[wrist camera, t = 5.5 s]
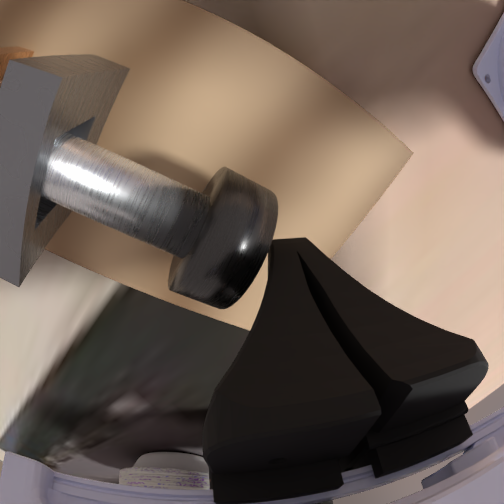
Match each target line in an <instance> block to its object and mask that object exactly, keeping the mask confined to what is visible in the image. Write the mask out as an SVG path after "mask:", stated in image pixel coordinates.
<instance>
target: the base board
mask: <svg viewBox="0 0 504 504" xmlns="http://www.w3.org/2000/svg"><path fill="white" fill-rule="evenodd" d="M15 46H18V47H22V48H25V49H29V50H32V51H34V54H33V56H32V57H39V56H53V55H83V54H94V55H97V56H100V57H102V58H105V59H108V60H110V61H113V62H115V63H118V64H120V65H123V66H125V67H128V68H130V71H129V73H128V75H127V77H126V79H125V81H124V83H123V85H122V87H121V89H120V91H119V93H118V95H117V97H116V100H115V102H114V104H113V106H112V109H111V111H110V113H109V115H108V118H107V120H106V123H105V125H104V127H103V130H102V132H101V135H100V137H99V140H98V143H97V145H98V146H100V147H102V148H105V149H107V150H109V151H111V152H114V153H116V154H118V155H120V156H123V157H125V158H127V159H129V160H131V161H134V162H136V163H138V164H140V165H142V166H145V167H147V168H149V169H151V170H153V171H155V172H158V173H160V174H162V175H164V176H166V177H168V178H171V179H173V180H175V181H177V182H179V183H181V184H183V185H186V186H188V187H190V188H192V189H194V190H196V191H198V192H200V193H202V192H203V190H204V188H205V187H206V185H207V184H208V182H209V181H210V180H211V178H212V177H213V176H214V174H215V173H216V172H217V171H218V170H219V169H221V168H222V167H227V168H229V169H231V170H233V171H235V172H237V173H239V174H241V175H242V176H244V177H246V178H248V179H250V180H252V181H254V182H256V183H258V184H259V185H261V186H263V187H265V188H267V189H269V190H271V191H272V192H274V193H275V195H276V197H277V200H278V219H277V224H276V229H275V233H274V237H273V239H286V238H301V237H306V238H307V239H308V240H310V241H311V242H312V243H313V244H314V245H315V246H316V247H317V248H318V249H319V250H321V251H322V252H323V253H324V254H325V255H326V256H327V257H328V258H330V259H331V258H332V257H333V256H334V255H335V253H336V252H337V251H338V250H339V249H340V247H341V246H342V245H343V244H344V242H345V241H346V240H347V239H348V238H349V236H350V235H351V234H352V233H353V231H354V230H355V229H356V228H357V226H358V225H359V224H360V223H361V222H362V220H363V219H364V218H365V216H366V215H367V214H368V213H369V211H370V210H371V209H372V208H373V206H374V205H375V204H376V202H377V201H378V200H379V199H380V197H381V196H382V195H383V193H384V192H385V191H386V189H387V188H388V187H389V186H390V184H391V183H392V182H393V180H394V179H395V178H396V176H397V175H398V174H399V172H400V171H401V170H402V168H403V167H404V165H405V164H406V163H407V161H408V160H409V159H410V157H411V156H412V155H413V152H412V151H411V150H410V149H409V148H408V147H407V146H406V145H405V144H404V143H403V142H401V141H400V140H399V139H398V138H397V137H396V136H395V135H394V134H393V133H392V132H391V131H389V130H388V129H387V128H386V127H385V126H384V125H383V124H381V123H380V122H379V121H378V120H377V119H376V118H374V117H373V116H372V115H371V114H370V113H368V112H367V111H366V110H365V109H364V108H362V107H361V106H360V105H359V104H357V103H356V102H355V101H354V100H352V99H351V98H350V97H348V96H347V95H346V94H344V93H343V92H342V91H341V90H339V89H338V88H337V87H335V86H334V85H332V84H331V83H330V82H328V81H327V80H326V79H324V78H323V77H321V76H320V75H318V74H317V73H316V72H314V71H313V70H311V69H310V68H308V67H307V66H305V65H304V64H302V63H301V62H299V61H298V60H296V59H294V58H293V57H291V56H290V55H288V54H287V53H285V52H283V51H282V50H280V49H278V48H277V47H275V46H273V45H272V44H270V43H268V42H267V41H265V40H263V39H261V38H260V37H258V36H256V35H254V34H252V33H250V32H249V31H247V30H245V29H243V28H241V27H239V26H237V25H235V24H233V23H231V22H229V21H227V20H225V19H223V18H221V17H219V16H217V15H215V14H213V13H211V12H208V11H206V10H204V9H202V8H200V7H197V6H195V5H193V4H190V3H188V2H185V1H183V0H0V48H2V47H15ZM44 249H46V250H48V251H50V252H52V253H54V254H56V255H58V256H61V257H63V258H65V259H67V260H69V261H71V262H74V263H76V264H78V265H80V266H82V267H85V268H87V269H89V270H92V271H94V272H96V273H98V274H101V275H103V276H105V277H108V278H110V279H112V280H115V281H117V282H120V283H122V284H124V285H127V286H129V287H132V288H134V289H137V290H139V291H142V292H144V293H147V294H149V295H152V296H154V297H157V298H160V299H162V300H165V301H167V302H170V303H173V304H175V305H178V306H181V307H184V308H186V309H189V310H192V311H195V312H197V313H200V314H203V315H206V316H209V317H211V318H214V319H217V320H220V321H223V322H226V323H229V324H232V325H235V326H238V327H241V328H244V329H247V330H251V328H252V325H253V323H254V321H255V318H256V316H257V313H258V311H259V308H260V305H261V302H262V299H263V296H264V292H265V288H266V284H267V280H268V253H267V256H266V258H265V260H264V263H263V265H262V267H261V269H260V270H259V272H258V274H257V276H256V278H255V279H254V281H253V282H252V284H251V285H250V287H249V288H248V290H247V291H246V292H245V293H244V295H243V296H242V297H241V298H240V299H239V300H238V301H237V302H236V303H235V304H233V305H232V306H231V307H229V308H227V309H218V308H215V307H212V306H210V305H207V304H204V303H202V302H199V301H196V300H194V299H191V298H188V297H186V296H183V295H180V294H178V293H175V292H173V291H170V290H169V288H168V277H169V271H170V267H171V263H172V259H173V256H174V255H172V254H170V253H167V252H165V251H163V250H160V249H158V248H156V247H153V246H151V245H149V244H146V243H144V242H142V241H139V240H137V239H135V238H133V237H130V236H128V235H126V234H123V233H121V232H119V231H117V230H114V229H112V228H110V227H108V226H105V225H103V224H101V223H99V222H96V221H94V220H92V219H90V218H88V217H85V216H83V215H81V214H79V213H77V212H74V211H72V212H71V213H70V215H69V216H68V217H67V219H66V220H65V221H64V222H63V224H62V225H61V226H60V228H59V229H58V230H57V232H56V233H55V235H54V236H53V237H52V239H51V240H50V241H49V243H48V244H47V246H46V247H45V248H44Z"/></svg>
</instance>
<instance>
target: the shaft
mask: <svg viewBox="0 0 504 504" xmlns="http://www.w3.org/2000/svg"><path fill="white" fill-rule="evenodd" d="M41 196H42V197H44V198H46V199H49V200H51V201H53V202H55V203H57V204H59V205H61V206H64V207H66V208H68V209H70V210H72V211H74V212H77V213H79V214H81V215H83V216H85V217H88V218H90V219H92V220H94V221H96V222H99V223H101V224H103V225H105V226H108V227H110V228H112V229H114V230H117V231H119V232H121V233H123V234H126V235H128V236H130V237H133V238H135V239H137V240H139V241H142V242H144V243H146V244H149V245H151V246H153V247H156V248H158V249H160V250H163V251H165V252H167V253H170V254H172V255H174V256H173V259H172V263H171V267H170V271H169V277H168V288H169V290H170V291H173V292H175V293H178V294H180V295H183V296H186V297H188V298H191V299H194V300H196V301H199V302H202V303H204V304H207V305H210V306H212V307H215V308H218V309H227V308H229V307H231V306H232V305H233V304H235V303H236V302H237V301H238V300H239V299H240V298H241V297H242V296H243V295H244V293H245V292H246V291H247V290H248V288H249V287H250V285H251V284H252V282H253V281H254V279H255V278H256V276H257V274H258V272H259V270H260V269H261V267H262V265H263V263H264V260H265V258H266V256H267V253H268V251H269V249H270V246H271V243H272V240H273V237H274V233H275V229H276V224H277V219H278V200H277V197H276V195H275V193H274V192H272V191H271V190H269V189H267V188H265V187H263V186H261V185H259V184H258V183H256V182H254V181H252V180H250V179H248V178H246V177H244V176H242V175H241V174H239V173H237V172H235V171H233V170H231V169H229V168H227V167H222V168H221V169H219V170H218V171H217V172H216V173H215V174H214V176H213V177H212V178H211V180H210V181H209V182H208V184H207V185H206V187H205V188H204V190H203V192H202V193H200V192H198V191H196V190H194V189H192V188H190V187H188V186H186V185H183V184H181V183H179V182H177V181H175V180H173V179H171V178H168V177H166V176H164V175H162V174H160V173H158V172H155V171H153V170H151V169H149V168H147V167H145V166H142V165H140V164H138V163H136V162H134V161H131V160H129V159H127V158H125V157H123V156H120V155H118V154H116V153H114V152H111V151H109V150H107V149H105V148H102V147H100V146H98V145H95V144H93V143H91V142H89V141H86V140H84V139H82V138H79V137H77V136H75V135H72V134H70V133H68V132H65V133H64V134H62V135H60V136H58V137H57V138H55V141H54V145H53V148H52V152H51V155H50V159H49V163H48V166H47V170H46V174H45V179H44V183H43V187H42V192H41Z"/></svg>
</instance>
